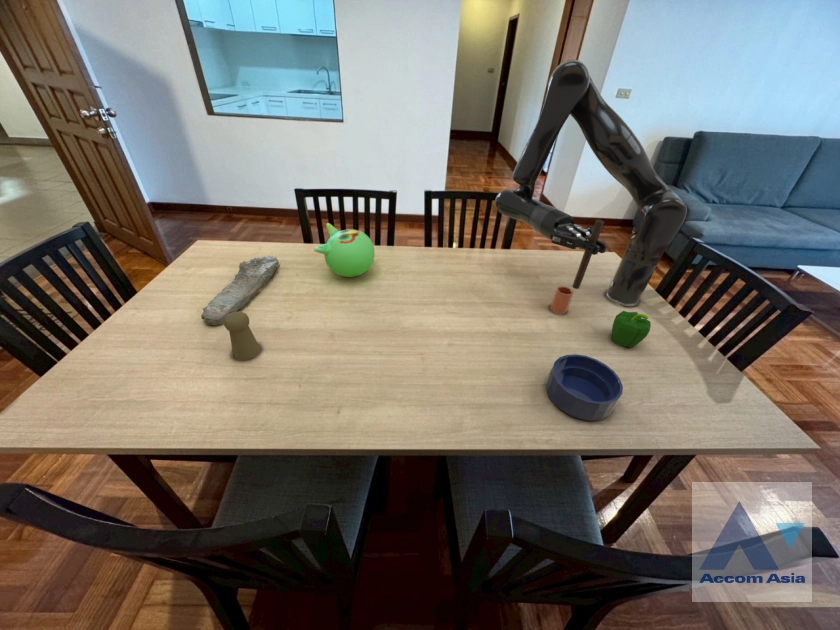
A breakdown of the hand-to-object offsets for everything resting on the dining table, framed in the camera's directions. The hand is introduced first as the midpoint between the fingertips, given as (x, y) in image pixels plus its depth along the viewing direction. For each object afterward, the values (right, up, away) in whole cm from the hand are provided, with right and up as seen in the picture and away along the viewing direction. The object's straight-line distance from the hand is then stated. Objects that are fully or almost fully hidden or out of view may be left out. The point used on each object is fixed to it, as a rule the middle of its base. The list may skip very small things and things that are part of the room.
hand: (601, 250), depth 83 cm
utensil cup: (-1, -14, +23) cm, 27 cm away
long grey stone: (-95, -8, +23) cm, 98 cm away
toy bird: (-66, -1, +35) cm, 75 cm away
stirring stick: (-2, -8, +9) cm, 12 cm away
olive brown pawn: (-84, -24, +3) cm, 88 cm away
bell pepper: (+12, -23, +13) cm, 29 cm away
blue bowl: (-7, -33, -3) cm, 34 cm away
